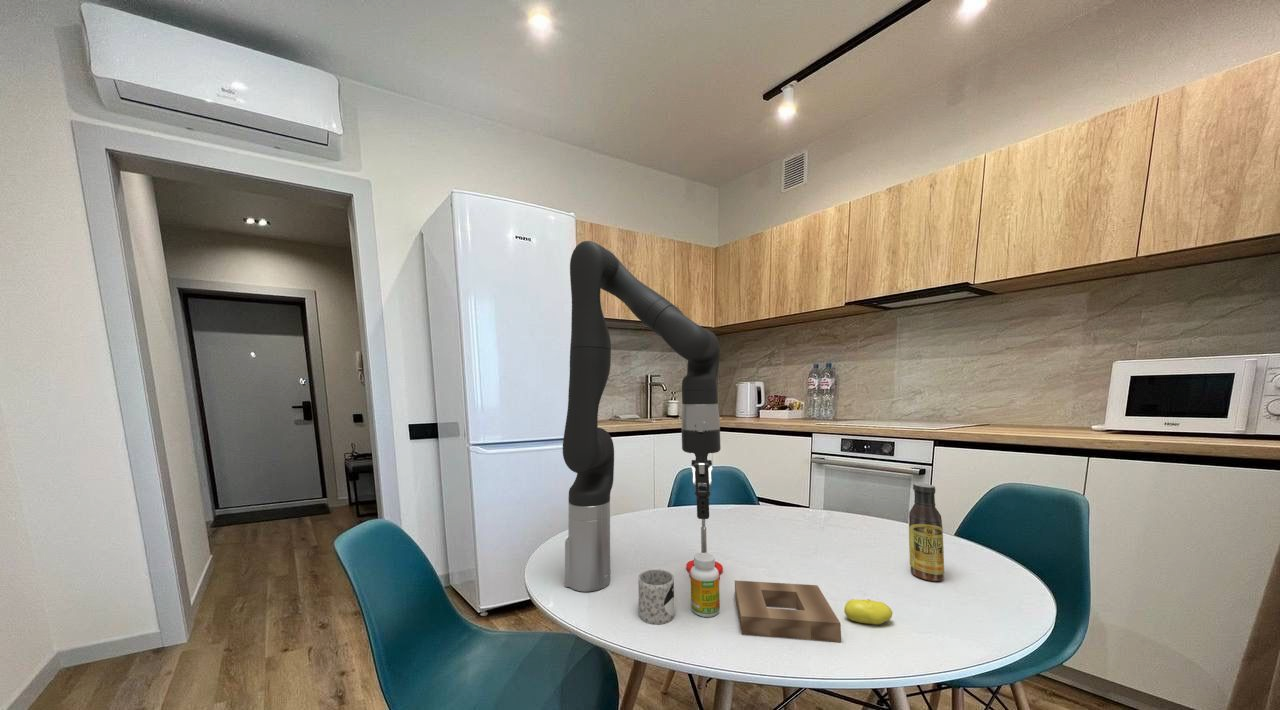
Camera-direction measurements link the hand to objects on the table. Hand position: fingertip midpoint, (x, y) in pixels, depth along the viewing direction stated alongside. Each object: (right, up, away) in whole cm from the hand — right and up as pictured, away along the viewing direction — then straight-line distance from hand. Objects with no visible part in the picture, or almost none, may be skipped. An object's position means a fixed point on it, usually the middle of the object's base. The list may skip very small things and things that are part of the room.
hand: (703, 511), depth 77 cm
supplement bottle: (0, -18, -2) cm, 18 cm away
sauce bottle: (+52, -19, +11) cm, 56 cm away
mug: (-9, -18, -1) cm, 20 cm away
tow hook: (+3, -20, +15) cm, 25 cm away
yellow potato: (+29, -18, -6) cm, 34 cm away
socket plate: (+14, -18, -4) cm, 23 cm away
